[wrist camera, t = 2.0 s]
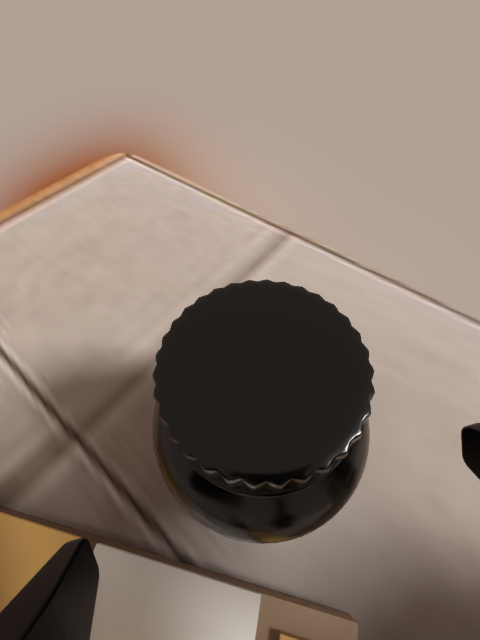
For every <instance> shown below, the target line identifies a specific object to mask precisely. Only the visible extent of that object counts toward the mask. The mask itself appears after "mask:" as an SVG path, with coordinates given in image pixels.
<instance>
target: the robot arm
mask: <svg viewBox="0 0 480 640" xmlns="http://www.w3.org/2000/svg"><path fill="white" fill-rule="evenodd" d="M461 440H462V456H463V460H464V462H465V463H466V465H467V466H468V467H469V469H470V470H471V471H472V472H473V473H474V474H475V475H476V476H477V477H478V478H479V479H480V423H475V424H472V425H468V426H465V427H463V429H462V431H461ZM98 583H99V567H98V563H97V561H96V558H95V555H94V553H93V550H92V547H91V544H90V542H89V540H88V539H87V538H85V537H82V538H78V539H75V540H72V541H68V542H66V543H65V544H64V545H62V546H61V548H60V549H59V550H58V551H57V552H56V553H55V554H54V555H53V556H52V557H51V558H50V559H49V560H48V561H47V563H46V564H45V565H44V566H43V567H42V568H41V569H40V570H39V571H38V572H37V573H36V574H35V575H34V577H33V578H32V579H31V580H30V581H29V582H28V583H27V584H26V585H25V586H24V587H23V588H22V589H21V590H20V592H19V593H18V594H17V595H16V596H15V597H14V598H13V599H12V600H11V601H10V602H9V603H8V604H7V606H6V607H5V608H4V609H3V610H2V611H1V612H0V640H90V635H91V629H92V622H93V616H94V609H95V603H96V596H97V590H98Z"/></svg>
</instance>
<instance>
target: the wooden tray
mask: <svg viewBox="0 0 480 640" xmlns="http://www.w3.org/2000/svg"><path fill="white" fill-rule="evenodd" d="M82 537H85V538H87V539H88V540H89V542H90V544H91V547H92V550H93V553H94V555H95V558H96V561H97V563H98V567H99V583H98V590H97V596H96V603H95V609H94V616H93V622H92V629H91V635H90V640H358V623H357V622H356V621H355V620H354V619H353V618H352V617H351V616H350V615H349V614H348V613H344V612H341V611H338V610H335V609H331V608H328V607H325V606H322V605H318V604H315V603H312V602H309V601H305V600H302V599H299V598H296V597H292V596H289V595H286V594H283V593H280V592H276V591H273V590H270V589H267V588H263V587H260V586H257V585H254V584H250V583H247V582H244V581H241V580H237V579H234V578H231V577H228V576H224V575H221V574H218V573H215V572H211V571H208V570H205V569H202V568H198V567H195V566H192V565H189V564H185V563H182V562H179V561H176V560H172V559H169V558H166V557H163V556H159V555H156V554H153V553H150V552H147V551H143V550H140V549H137V548H134V547H130V546H127V545H124V544H121V543H117V542H114V541H111V540H108V539H104V538H101V537H98V536H95V535H91V534H88V533H85V532H82V531H78V530H75V529H72V528H69V527H65V526H62V525H59V524H56V523H52V522H49V521H46V520H43V519H39V518H36V517H33V516H30V515H26V514H23V513H20V512H17V511H14V510H10V509H7V508H4V507H1V506H0V612H1V611H2V610H3V609H4V608H5V607H6V606H7V604H8V603H9V602H10V601H11V600H12V599H13V598H14V597H15V596H16V595H17V594H18V593H19V592H20V590H21V589H22V588H23V587H24V586H25V585H26V584H27V583H28V582H29V581H30V580H31V579H32V578H33V577H34V575H35V574H36V573H37V572H38V571H39V570H40V569H41V568H42V567H43V566H44V565H45V564H46V563H47V561H48V560H49V559H50V558H51V557H52V556H53V555H54V554H55V553H56V552H57V551H58V550H59V549H60V548H61V546H62V545H64V544H65V543H66V542H68V541H72V540H75V539H78V538H82Z"/></svg>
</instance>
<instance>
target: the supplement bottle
mask: <svg viewBox="0 0 480 640" xmlns="http://www.w3.org/2000/svg"><path fill="white" fill-rule="evenodd" d="M156 362H157V365H156V367H155V369H154V372H153V379H154V382H155V384H156V386H155V390H154V399H155V400H156V405H155V410H154V417H153V441H154V448H155V454H156V458H157V462H158V465H159V468H160V471H161V473H162V475H163V478H164V480H165V482H166V484H167V486H168V487H169V489H170V491H171V492H172V494H173V495H174V497H175V498H176V499H177V501H178V502H179V503H180V504H181V505H182V507H183V508H184V509H185V510H186V511H187V512H188V513H189V514H190V515H192V516H193V517H194V518H195V519H196V520H198V521H199V522H200V523H202V524H203V525H205V526H206V527H208V528H210V529H211V530H213V531H215V532H217V533H219V534H222V535H224V536H226V537H229V538H232V539H236V540H239V541H244V542H250V543H278V542H283V541H288V540H292V539H295V538H298V537H301V536H304V535H306V534H308V533H310V532H312V531H314V530H316V529H318V528H319V527H321V526H322V525H324V524H325V523H327V522H328V521H329V520H330V519H332V518H333V517H334V516H335V515H336V514H337V513H338V512H339V511H340V510H341V509H342V508H343V507H344V505H345V504H346V503H347V502H348V500H349V499H350V498H351V496H352V494H353V493H354V491H355V489H356V488H357V486H358V483H359V481H360V479H361V477H362V474H363V471H364V468H365V465H366V461H367V456H368V450H369V437H370V430H369V419H368V418H369V417H370V415H371V407H370V401H371V399H372V398H373V396H374V393H375V391H374V387H373V384H372V381H371V380H372V378H373V374H374V370H373V367H372V366H371V364H370V363H369V351H368V349H367V348H366V347H365V346H364V344H363V343H362V342H361V335H360V333H359V332H358V331H357V330H356V329H355V328H353V327H352V326H351V323H350V320H349V318H348V317H346V316H345V315H343V314H341V313H340V312H339V311H338V310H337V308H336V306H335V305H334V304H331V303H329V302H327V301H325V300H324V299H323V298H322V297H321V296H320V295H319V294H315V293H311V292H309V291H307V290H306V289H305V288H303V287H300V286H292V285H290V284H288V283H286V282H272V281H270V280H262V281H252V280H248V281H245V282H243V283H231V284H229V285H227V286H226V287H224V288H218V289H214V290H213V291H212V292H211V293H209V294H208V295H206V296H202V297H199V298H198V299H197V300H196V302H195V303H194V304H193V305H191V306H189V307H187V308H185V309H184V311H183V313H182V315H181V316H180V317H179V318H177V319H176V320H174V321H173V322H172V325H171V329H170V331H169V332H168V333H167V334H166V335H165V336H164V337H163V339H162V347H161V349H160V350H159V351H158V352H157V354H156Z"/></svg>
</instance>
